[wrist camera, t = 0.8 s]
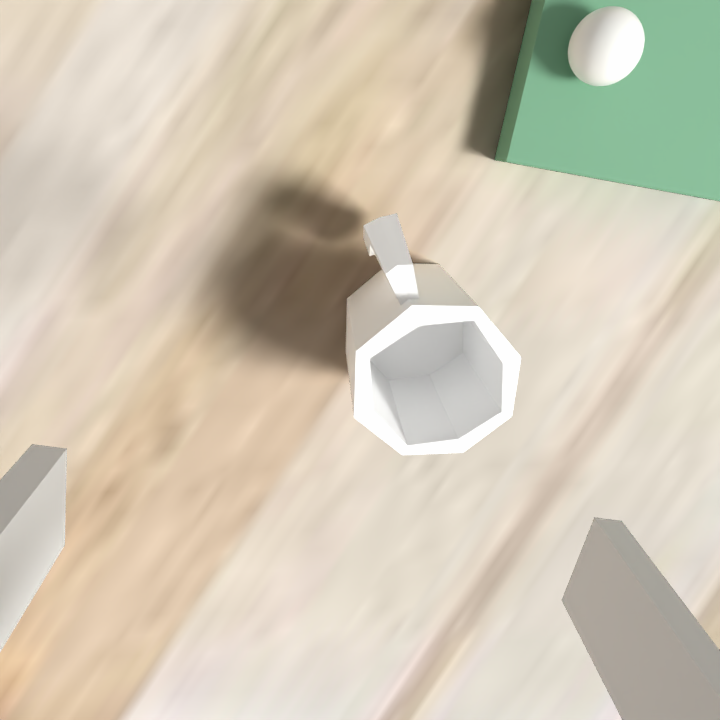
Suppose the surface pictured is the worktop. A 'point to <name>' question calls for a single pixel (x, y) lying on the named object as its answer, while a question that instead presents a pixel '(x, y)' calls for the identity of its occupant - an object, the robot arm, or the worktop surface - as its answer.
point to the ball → (606, 46)
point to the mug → (424, 354)
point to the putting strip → (621, 100)
